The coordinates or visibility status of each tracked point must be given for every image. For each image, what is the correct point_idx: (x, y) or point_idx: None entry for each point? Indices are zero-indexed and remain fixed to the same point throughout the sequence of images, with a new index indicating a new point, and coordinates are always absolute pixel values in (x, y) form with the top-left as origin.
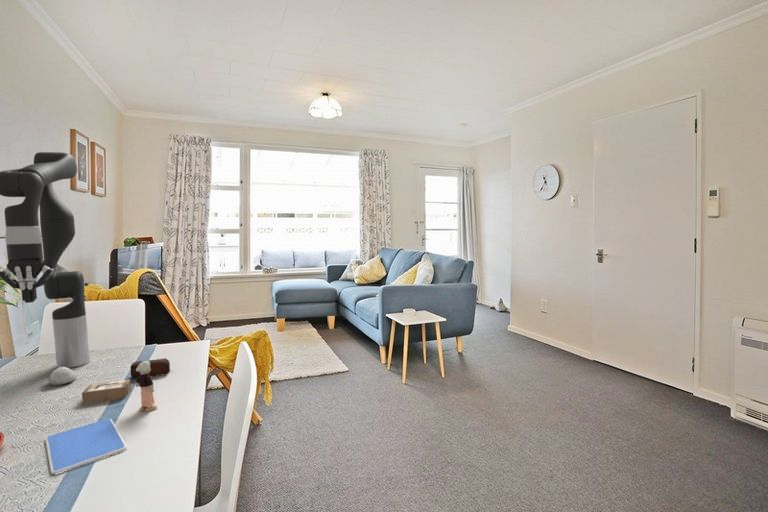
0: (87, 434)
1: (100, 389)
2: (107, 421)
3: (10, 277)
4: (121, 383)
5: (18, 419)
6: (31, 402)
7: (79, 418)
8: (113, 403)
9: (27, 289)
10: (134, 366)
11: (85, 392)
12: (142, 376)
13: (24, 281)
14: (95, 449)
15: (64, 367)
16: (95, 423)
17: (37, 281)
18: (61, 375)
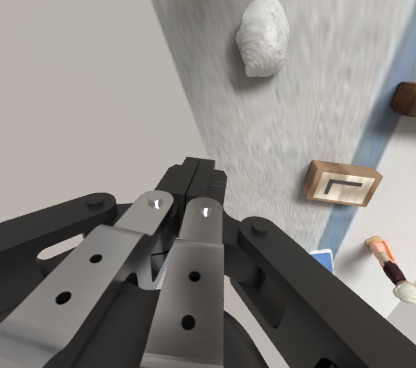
0: None
1: (331, 199)
2: (327, 257)
3: (6, 291)
4: (365, 190)
5: (233, 196)
6: (232, 142)
7: (299, 229)
8: (339, 207)
9: (179, 223)
10: (414, 116)
11: (311, 199)
12: (395, 283)
13: (152, 289)
14: None
15: (269, 45)
16: (316, 256)
17: (248, 306)
18: (264, 72)
